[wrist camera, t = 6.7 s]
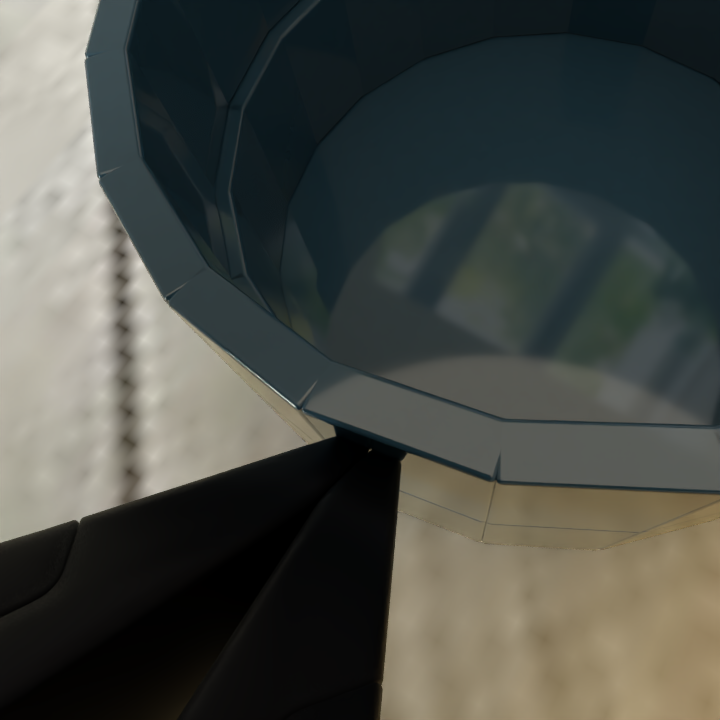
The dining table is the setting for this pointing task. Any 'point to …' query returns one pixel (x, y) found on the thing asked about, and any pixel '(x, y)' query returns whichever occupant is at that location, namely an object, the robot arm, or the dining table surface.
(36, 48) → the dining table surface
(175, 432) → the dining table surface
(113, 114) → the bowl
